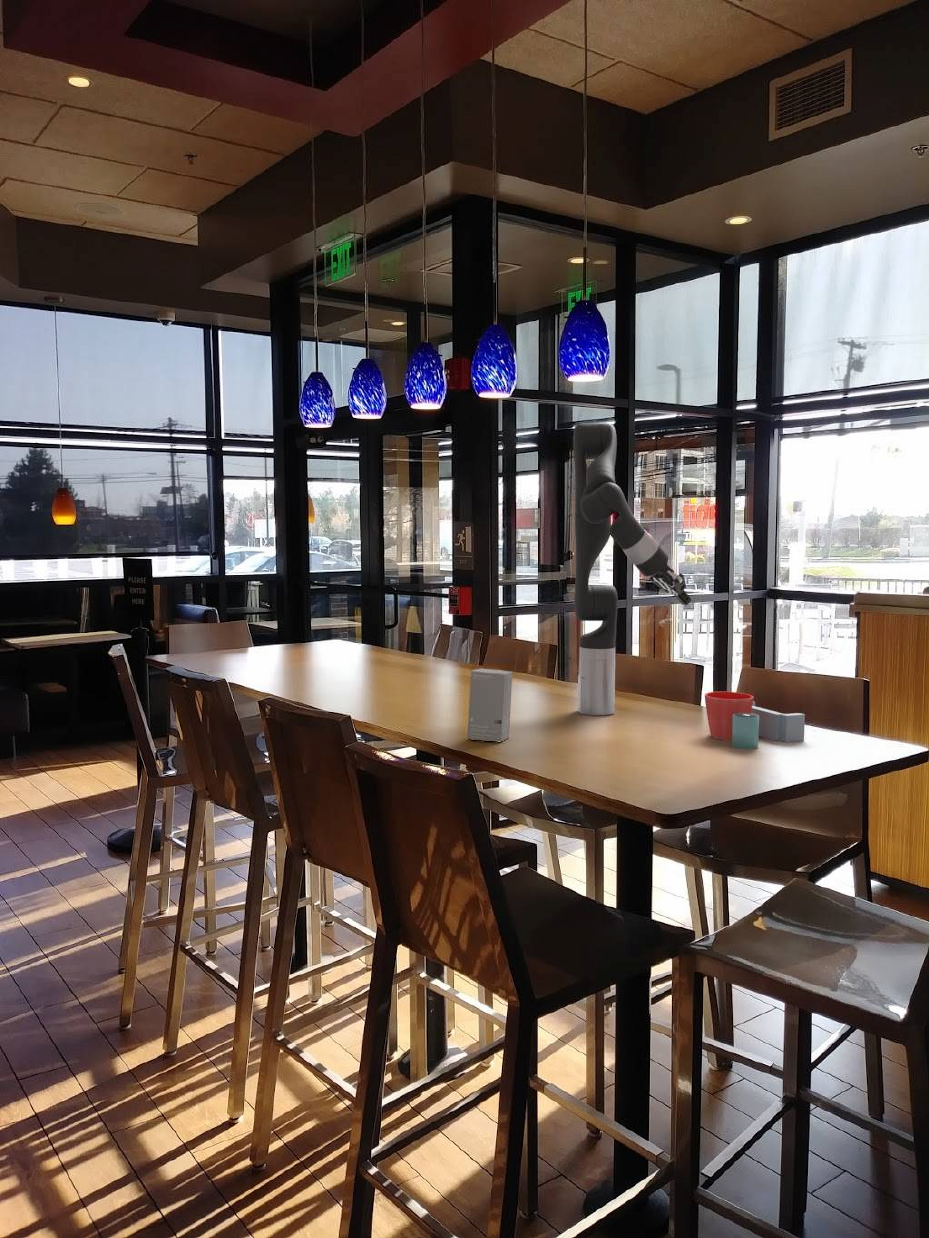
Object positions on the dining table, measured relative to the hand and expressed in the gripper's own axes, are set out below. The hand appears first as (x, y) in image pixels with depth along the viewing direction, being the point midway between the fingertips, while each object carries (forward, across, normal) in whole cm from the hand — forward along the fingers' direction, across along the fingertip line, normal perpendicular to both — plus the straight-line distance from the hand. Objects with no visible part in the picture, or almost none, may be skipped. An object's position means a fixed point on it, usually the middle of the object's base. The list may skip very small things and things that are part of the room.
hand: (687, 602), depth 247 cm
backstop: (+29, -18, +14) cm, 36 cm away
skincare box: (-16, -3, +59) cm, 61 cm away
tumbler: (+19, -29, +23) cm, 41 cm away
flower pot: (+21, -18, +21) cm, 35 cm away
